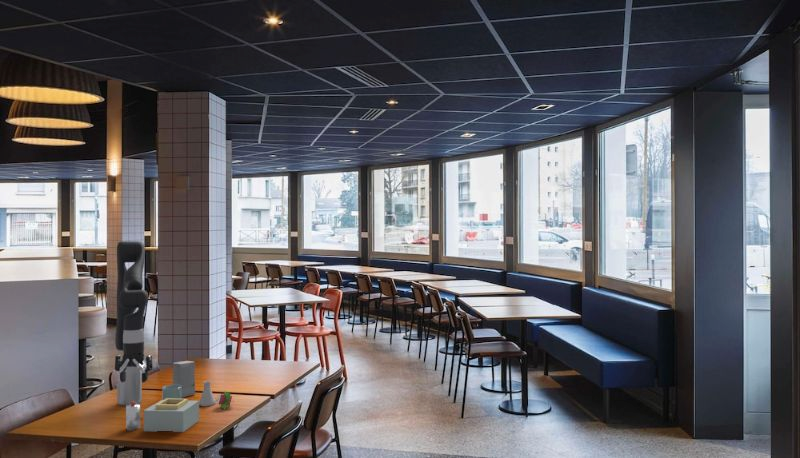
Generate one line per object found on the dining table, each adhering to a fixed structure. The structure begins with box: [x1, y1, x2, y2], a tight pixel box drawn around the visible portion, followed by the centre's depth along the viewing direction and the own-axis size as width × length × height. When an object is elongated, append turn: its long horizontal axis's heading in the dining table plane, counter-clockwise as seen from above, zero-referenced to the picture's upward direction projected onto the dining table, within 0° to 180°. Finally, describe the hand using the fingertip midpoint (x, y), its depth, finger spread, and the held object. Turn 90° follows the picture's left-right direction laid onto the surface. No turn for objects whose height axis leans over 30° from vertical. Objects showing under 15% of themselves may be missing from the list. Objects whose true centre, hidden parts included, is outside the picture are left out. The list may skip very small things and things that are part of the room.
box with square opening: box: [143, 398, 200, 433], centre depth 231 cm, size 16×14×10 cm
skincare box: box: [172, 360, 196, 399], centre depth 274 cm, size 8×7×16 cm
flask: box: [199, 380, 217, 407], centre depth 259 cm, size 7×7×10 cm
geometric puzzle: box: [215, 391, 234, 409], centre depth 255 cm, size 7×7×8 cm
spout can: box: [125, 401, 141, 431], centre depth 228 cm, size 5×5×10 cm
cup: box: [161, 384, 182, 400], centre depth 251 cm, size 8×8×10 cm
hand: (133, 381), depth 228 cm, fingers open, 8 cm apart
